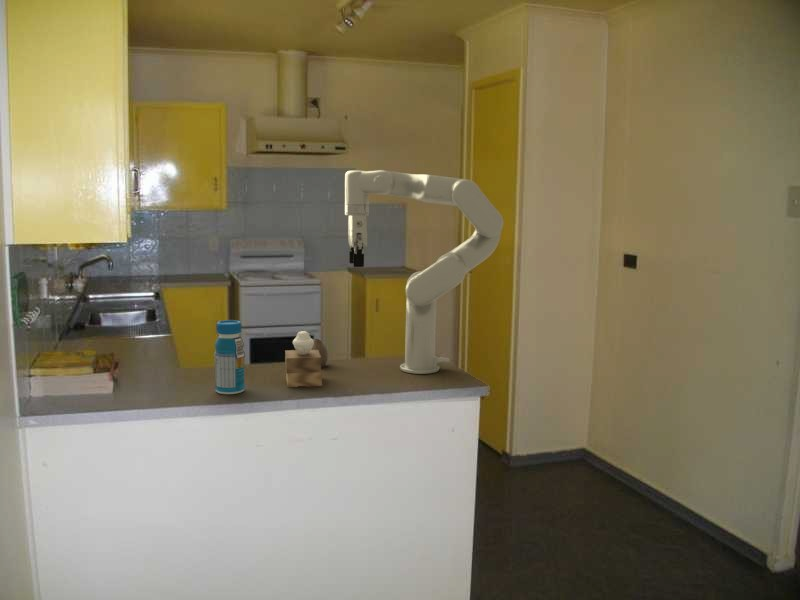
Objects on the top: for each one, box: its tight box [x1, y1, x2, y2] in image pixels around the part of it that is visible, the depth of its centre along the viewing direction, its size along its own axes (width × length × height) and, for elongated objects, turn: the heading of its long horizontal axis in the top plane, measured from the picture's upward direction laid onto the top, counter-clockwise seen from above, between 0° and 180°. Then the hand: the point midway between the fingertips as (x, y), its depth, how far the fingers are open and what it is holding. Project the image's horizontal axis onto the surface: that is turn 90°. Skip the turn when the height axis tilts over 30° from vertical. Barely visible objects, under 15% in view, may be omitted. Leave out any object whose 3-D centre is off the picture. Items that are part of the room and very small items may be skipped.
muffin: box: [292, 330, 314, 355], centre depth 225 cm, size 6×6×7 cm
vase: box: [311, 338, 329, 368], centre depth 245 cm, size 7×7×9 cm
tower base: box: [285, 370, 323, 388], centre depth 226 cm, size 10×10×4 cm
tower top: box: [284, 349, 322, 374], centre depth 225 cm, size 10×10×4 cm
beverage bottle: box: [213, 319, 246, 395], centre depth 214 cm, size 8×8×20 cm
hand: (356, 265), depth 239 cm, fingers open, 9 cm apart
